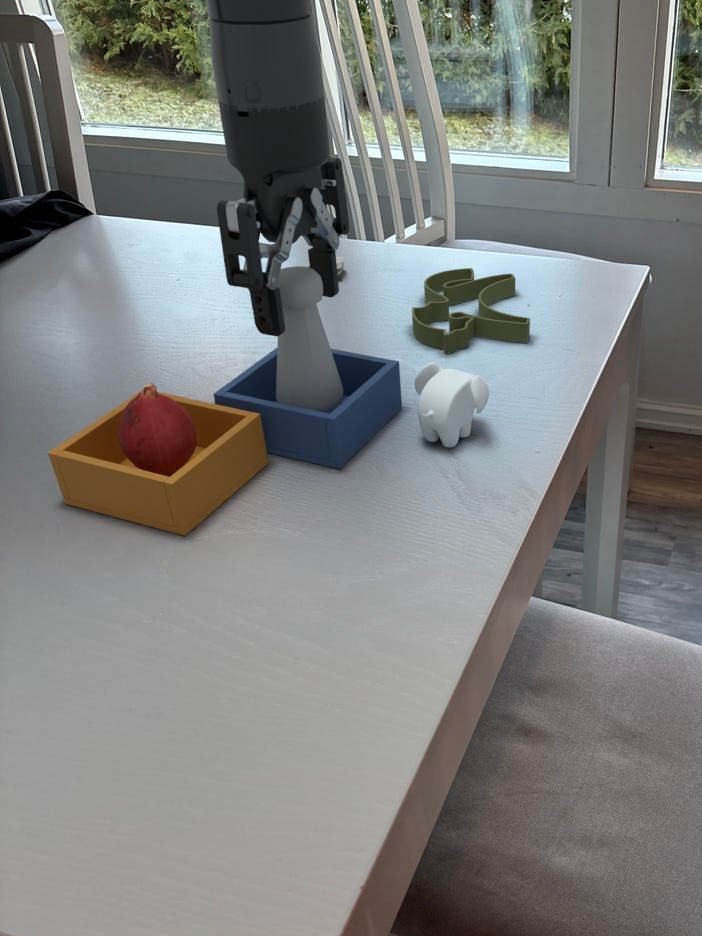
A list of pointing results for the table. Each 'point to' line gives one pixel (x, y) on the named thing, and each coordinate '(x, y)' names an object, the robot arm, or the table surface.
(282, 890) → the table surface
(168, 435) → the red pomegranate
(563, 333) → the table surface
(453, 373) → the elephant figurine
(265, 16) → the robot arm
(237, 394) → the blue bin
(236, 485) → the ochre bin
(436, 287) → the cookie cutter
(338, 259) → the macaroon
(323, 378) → the salt shaker
